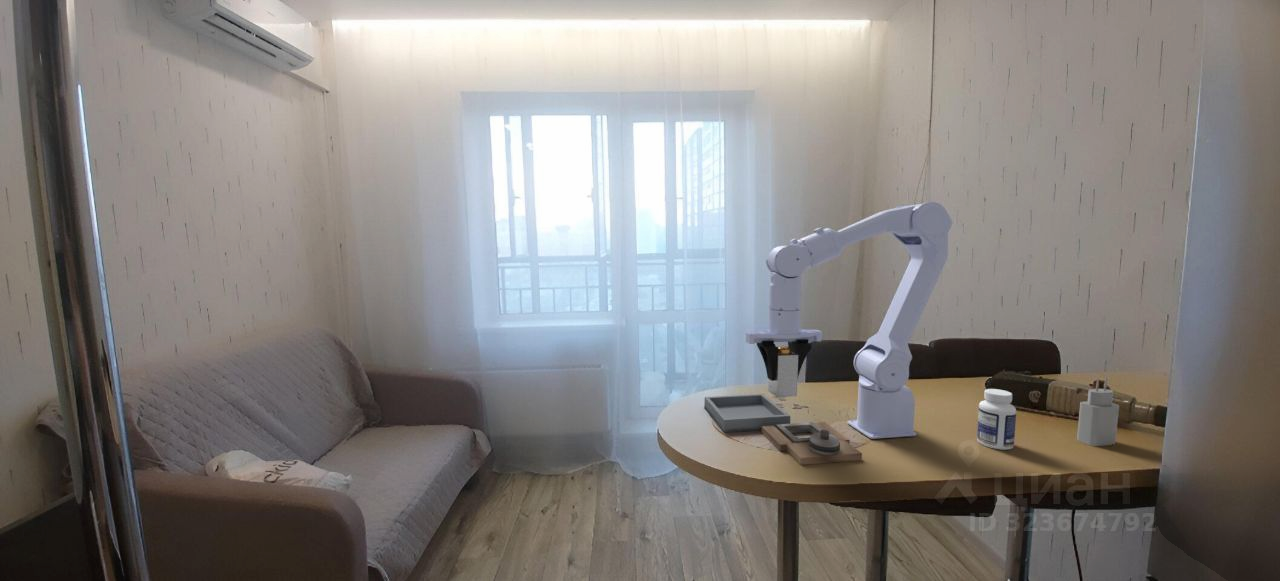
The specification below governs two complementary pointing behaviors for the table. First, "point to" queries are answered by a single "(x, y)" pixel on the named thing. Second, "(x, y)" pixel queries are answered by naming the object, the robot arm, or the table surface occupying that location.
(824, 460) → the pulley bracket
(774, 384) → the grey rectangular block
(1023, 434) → the table surface
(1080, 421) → the power adapter
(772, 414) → the tray
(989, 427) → the pill bottle
